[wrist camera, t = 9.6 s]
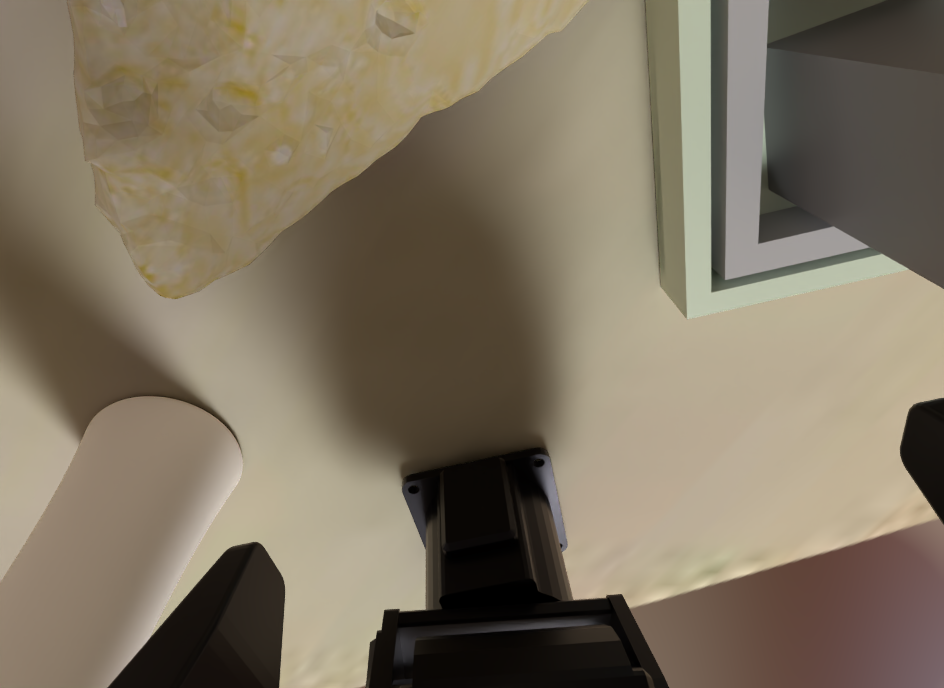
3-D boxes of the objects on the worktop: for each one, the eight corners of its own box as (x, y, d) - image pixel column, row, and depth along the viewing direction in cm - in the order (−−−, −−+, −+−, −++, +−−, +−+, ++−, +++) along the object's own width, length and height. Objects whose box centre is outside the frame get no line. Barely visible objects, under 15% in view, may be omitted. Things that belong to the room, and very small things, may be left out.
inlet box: (967, 216, 20) (1033, 243, 18) (660, 286, 21) (688, 321, 19) (1066, -188, 15) (1180, -221, 12) (640, -75, 15) (677, -87, 13)
